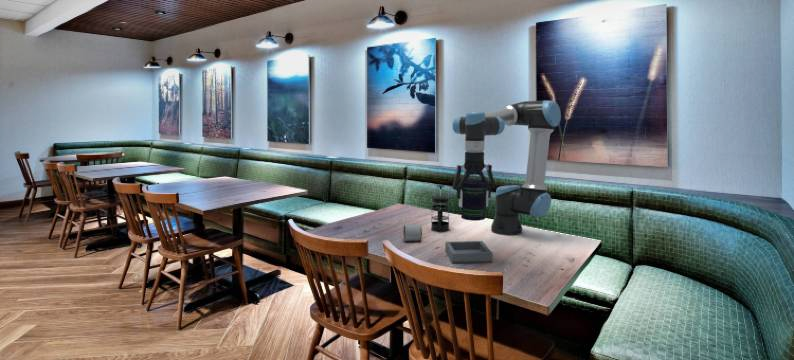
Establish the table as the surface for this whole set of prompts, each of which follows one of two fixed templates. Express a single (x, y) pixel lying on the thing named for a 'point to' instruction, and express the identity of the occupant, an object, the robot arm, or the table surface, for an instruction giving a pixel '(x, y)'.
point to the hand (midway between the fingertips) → (473, 206)
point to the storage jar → (473, 200)
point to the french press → (440, 213)
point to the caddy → (468, 252)
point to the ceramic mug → (412, 232)
